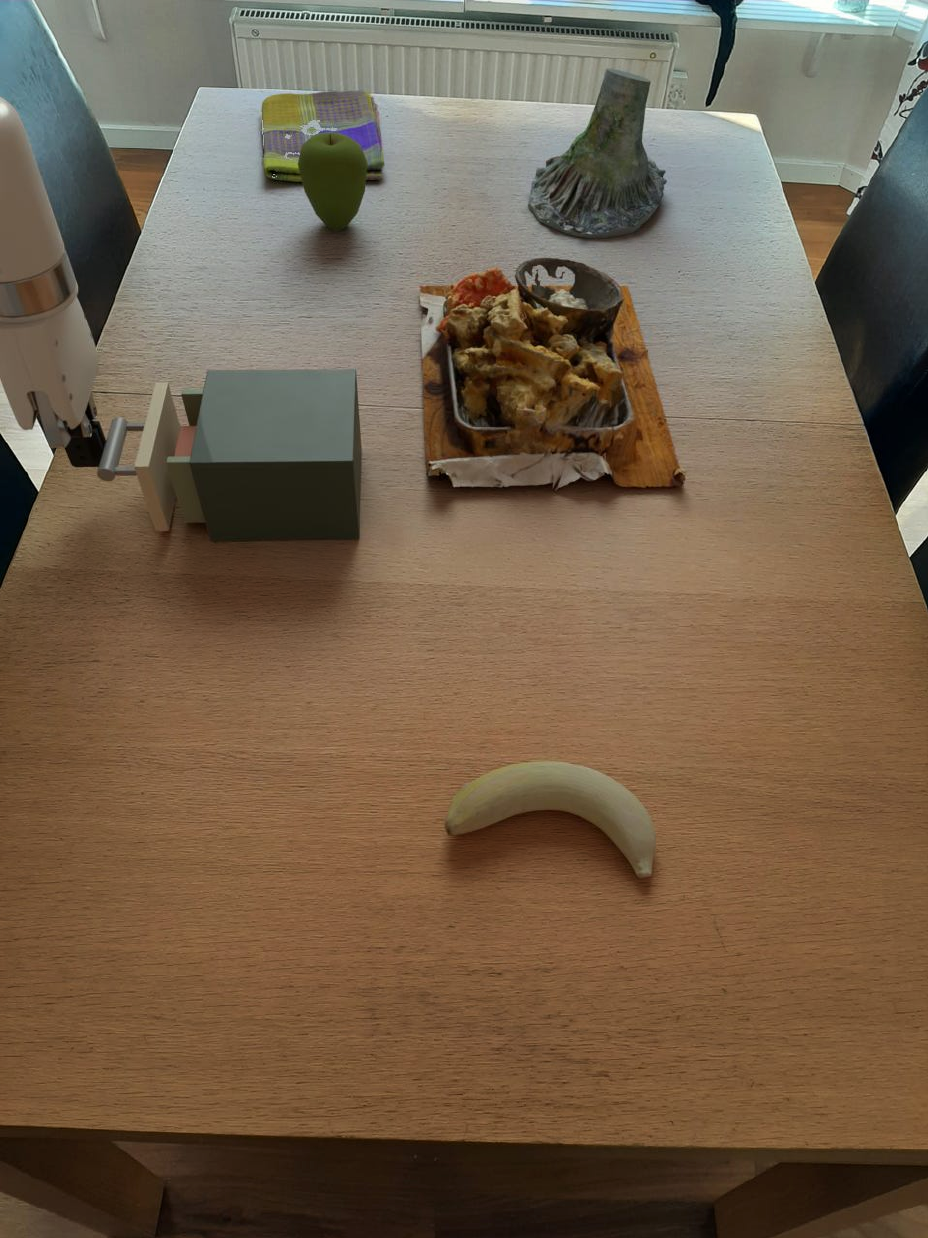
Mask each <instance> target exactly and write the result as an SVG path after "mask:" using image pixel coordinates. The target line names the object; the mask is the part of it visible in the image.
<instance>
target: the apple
mask: <svg viewBox="0 0 928 1238" xmlns="http://www.w3.org/2000/svg"><path fill="white" fill-rule="evenodd" d="M367 165H368V162H367V160H366V157H365V154H364V152H363V149H362V148H361V146H360V144H358V143H357V142H356V141H354V140H353V139H352V138H350V137H348V136H346V135H343V134H340V133H334V132H326V133H320V134H316V135H314V136H313V137H311V138H310V139H309V140H307V141H306V142H305V143H304V144H302V147H301V151H300V156H299V160H298V167H299V172H300V176H301V180H302V182H301V185H302V187H303V191H304V194H305V195H306V197H307V199H308V201H309V203H310V205H311V207H312V209H313V211H314V214H315V215H316V216H317V217H318V218H319V220H320V221H321V222H322V223H323V224H324V225H325V226H326V227H327V228H328V229H330V230H331V231H335V232H338V231H342V230H344V229H345V228H347V227H348V226H349V224H350V223H351V222H352V221H353V220H354V218H356V216H357V215H358V214H359V210H360V208H361V204H362V201H363V198H364V195H365V192H366V183H367V180H366V175H367Z"/></svg>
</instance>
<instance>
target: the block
mask: <svg viewBox="0 0 928 1238" xmlns="http://www.w3.org/2000/svg"><path fill="white" fill-rule="evenodd" d="M195 431H196V426H189V425H180V430H179V435H178V439H177V444H176V449H175V453H174V457H189V456H191V451H192V446H193V441H194V436H195Z"/></svg>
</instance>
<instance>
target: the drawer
mask: <svg viewBox="0 0 928 1238" xmlns="http://www.w3.org/2000/svg"><path fill="white" fill-rule="evenodd" d="M203 390H204V388H182V389H181V393H180V394H181V399H182V404H183V407H184V411H185V414H186V419H187V422H188V426H197V421H198V416H199V411H200V406H201V400H202V395H203ZM150 398H151V399H150V402H149V406H148V408H147V409H148V410H147V414H146V418H145V421H144V422H143V421H140V422H139V421H137V422H135V421H133V422H132V421H131V422H130V421H127V419H125V418H124V417H120V416H117V417H114V418H113V419H112V420H111V422H110V426H109V430H108V433H107V437H106V443H105V447H104V450H103V454H102V457H101V461H100V464H99V467H97V471H96V476H97V478H99V479H100V480H101V481H103V482H113V481H114V480H115V478H116V477H131V476H132V477H134V476H135V477H137V479H138V482H139V483H138V484H139V486H140V489H141V491H142V494H143V497H144V500H145V504H146V506H147V507H146V508H147V510H148V512H149V515H150V518H151V522H152V524H153V527H154V530H155V532H169V531H170V527H171V522H172V516H173V512H174V507H175V503H176V500H177V504H178V507H179V511H180V513H181V517H182V521H183V523H184V524H187V523H188V524H190V523H191V524H192V523H193V524H194V523H197V524H198V523H205V519H204V516H203V512H202V508H201V505H200V501H199V497H198V493H197V490H196V486H195V482H194V479H193V475H192V471H191V468H190V464H189V462H190V457H191V456H189V457H174V453H175V449H176V444H177V439H178V435H179V430H180V426H181V425H180V421H179V417H178V413H177V410H176V406H175V401H174V399H173V395H172V391H171V388H170V384H169V382H168V381H167V382H164V381H163V382H159V381H158V382H154V386H153V390H152V394H151V397H150ZM128 432H142V434H141V438H140V442H139V446H138V449H137V454H136V457H135V462H134V466H119V465H120V464H119V463H120V460H121V457H122V453H123V449H124V445H125V441H126V438H127V433H128Z"/></svg>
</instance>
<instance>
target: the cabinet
mask: <svg viewBox="0 0 928 1238" xmlns="http://www.w3.org/2000/svg"><path fill="white" fill-rule="evenodd" d="M203 389H204V390H203V395H202V400H201V406H200V411H199V416H198V421H197V426H196V431H195V436H194V441H193V446H192V451H191V457H190V462H189V464H190V468H191V471H192V475H193V479H194V482H195V486H196V490H197V493H198V497H199V501H200V505H201V508H202V512H203V516H204V519H205V522H204V523H205V526H206V530H207V534H208V538H209V541H210V542H211V543H212V542H267V541H269V542H271V541H274V542H275V541H327V540H329V541H330V540H331V541H333V540H335V541H336V540H360V538H361V536H360V535H361V497H362V496H361V493H362V491H361V490H362V453H363V452H362V449H363V447H362V446H363V445H362V434H361V432H362V431H361V418H360V406H359V405H360V404H359V392H358V379H357V369H354V368H353V369H352V368H351V369H208V370H206V375H205V381H204V385H203Z"/></svg>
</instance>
